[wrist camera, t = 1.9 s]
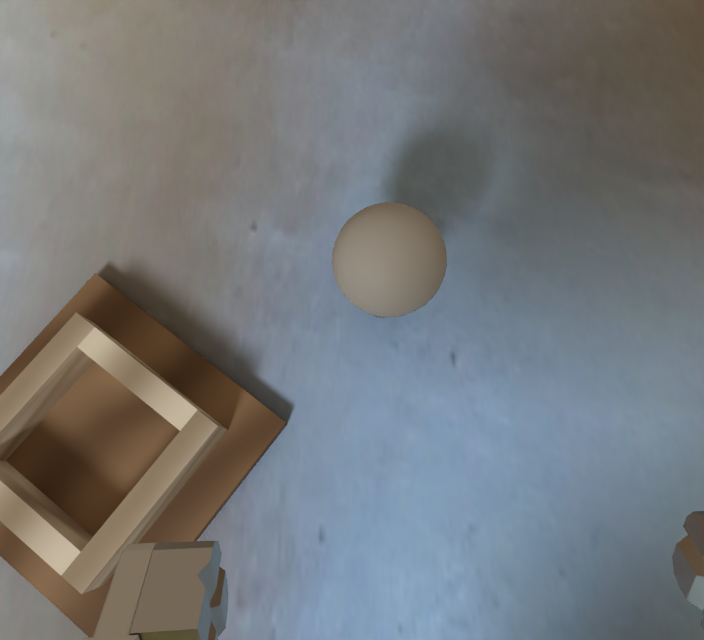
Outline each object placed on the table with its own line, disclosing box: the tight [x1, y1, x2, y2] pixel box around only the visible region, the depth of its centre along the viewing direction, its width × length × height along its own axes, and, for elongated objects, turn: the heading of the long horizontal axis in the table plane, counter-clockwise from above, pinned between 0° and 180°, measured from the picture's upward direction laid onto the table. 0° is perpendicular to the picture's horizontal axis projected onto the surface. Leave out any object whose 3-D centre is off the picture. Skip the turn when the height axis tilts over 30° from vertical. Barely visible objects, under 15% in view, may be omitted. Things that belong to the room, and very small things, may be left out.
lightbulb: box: [332, 202, 447, 318], centre depth 35 cm, size 6×6×11 cm
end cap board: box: [0, 273, 287, 637], centre depth 35 cm, size 16×16×4 cm
